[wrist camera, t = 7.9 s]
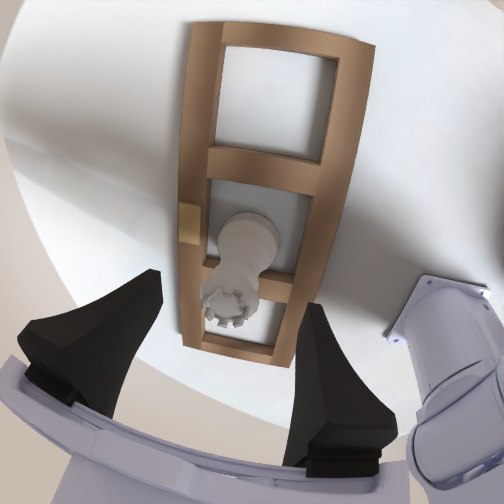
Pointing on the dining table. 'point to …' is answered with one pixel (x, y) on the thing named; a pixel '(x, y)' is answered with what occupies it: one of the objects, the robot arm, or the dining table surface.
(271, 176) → the brown wooden flat frame
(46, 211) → the dining table surface
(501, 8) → the decorative plaque
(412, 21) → the dining table surface
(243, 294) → the rook chess piece
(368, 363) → the dining table surface
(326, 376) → the robot arm
